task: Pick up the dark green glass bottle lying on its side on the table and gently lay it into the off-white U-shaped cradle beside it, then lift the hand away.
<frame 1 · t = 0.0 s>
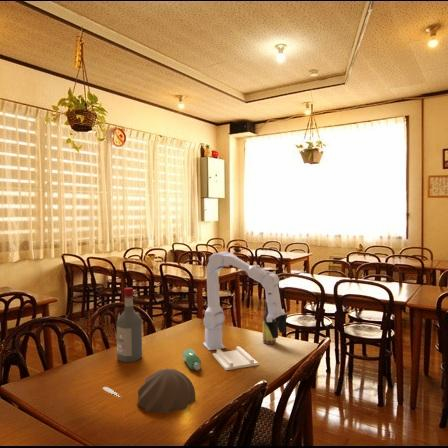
hand: (278, 335, 161), 11 cm above the table, tool pointing down, fingers open, 7 cm apart
decorative dome: (166, 399, 130), on the table
sauce bottle: (269, 342, 182), on the table
green bottle: (191, 364, 157), on the table
butter knife: (126, 401, 129), on the table
bottle cradle: (234, 360, 162), on the table
liquor: (129, 358, 165), on the table
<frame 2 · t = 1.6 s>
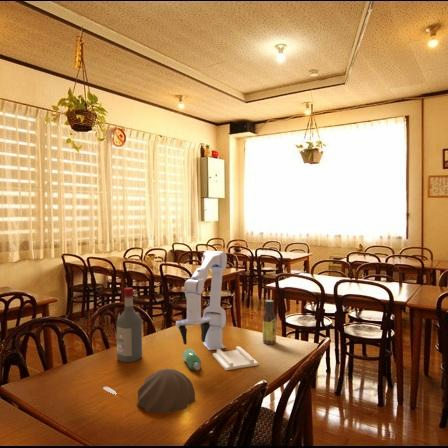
hand: (194, 342, 156), 9 cm above the table, tool pointing down, fingers open, 7 cm apart
decorative dome: (166, 399, 130), on the table, touching butter knife
butter knife: (126, 401, 129), on the table, touching decorative dome
everything else where it was.
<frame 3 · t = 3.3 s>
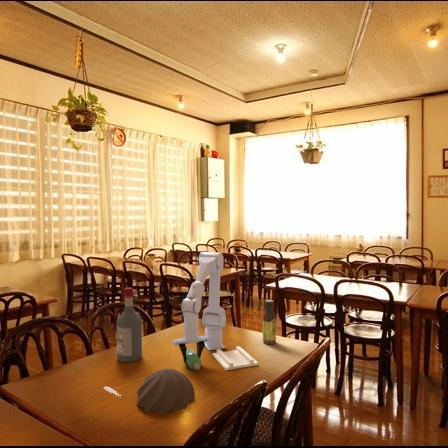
hand: (191, 360, 157), 2 cm above the table, tool pointing down, fingers closed on green bottle, 5 cm apart
decorative dome: (166, 399, 130), on the table
green bottle: (191, 364, 157), on the table, touching gripper
butter knife: (127, 400, 130), on the table
everything else where it was.
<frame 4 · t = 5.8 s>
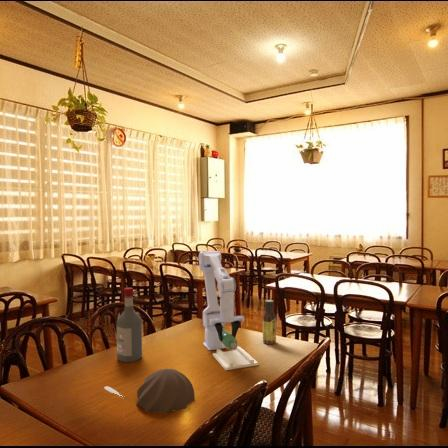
hand: (227, 339, 160), 9 cm above the table, tool pointing down, fingers closed on green bottle, 5 cm apart
decorative dome: (165, 399, 130), on the table, touching butter knife
green bottle: (226, 345, 160), point 7 cm above the table, tilted 9°, touching gripper
butter knife: (127, 400, 130), on the table, touching decorative dome
everything else where it was.
when the fingers open (4 cm above the table, at t = 7.9 s): green bottle stays where it is, resting on bottle cradle.
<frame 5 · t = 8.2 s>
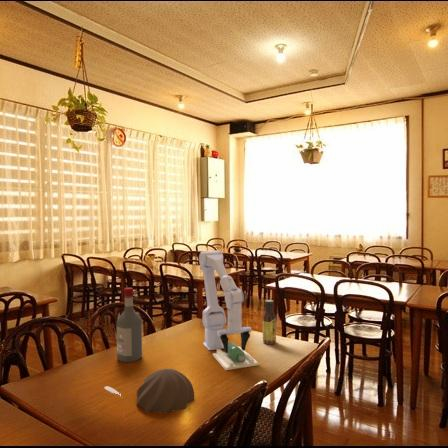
hand: (234, 351, 161), 4 cm above the table, tool pointing down, fingers open, 7 cm apart
green bottle: (233, 358, 161), point 1 cm above the table, tilted 10°, touching bottle cradle
everything else where it was.
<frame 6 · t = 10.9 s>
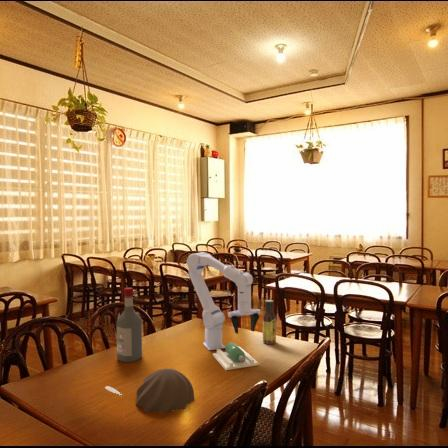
hand: (244, 331, 169), 9 cm above the table, tool pointing down, fingers open, 7 cm apart
nothing on the table moved.
at the end: green bottle inside the target area on the bottle cradle (0.6 cm from its centre), point 1.0 cm above the bottle cradle's base; green bottle touching bottle cradle; the gripper is holding nothing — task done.
